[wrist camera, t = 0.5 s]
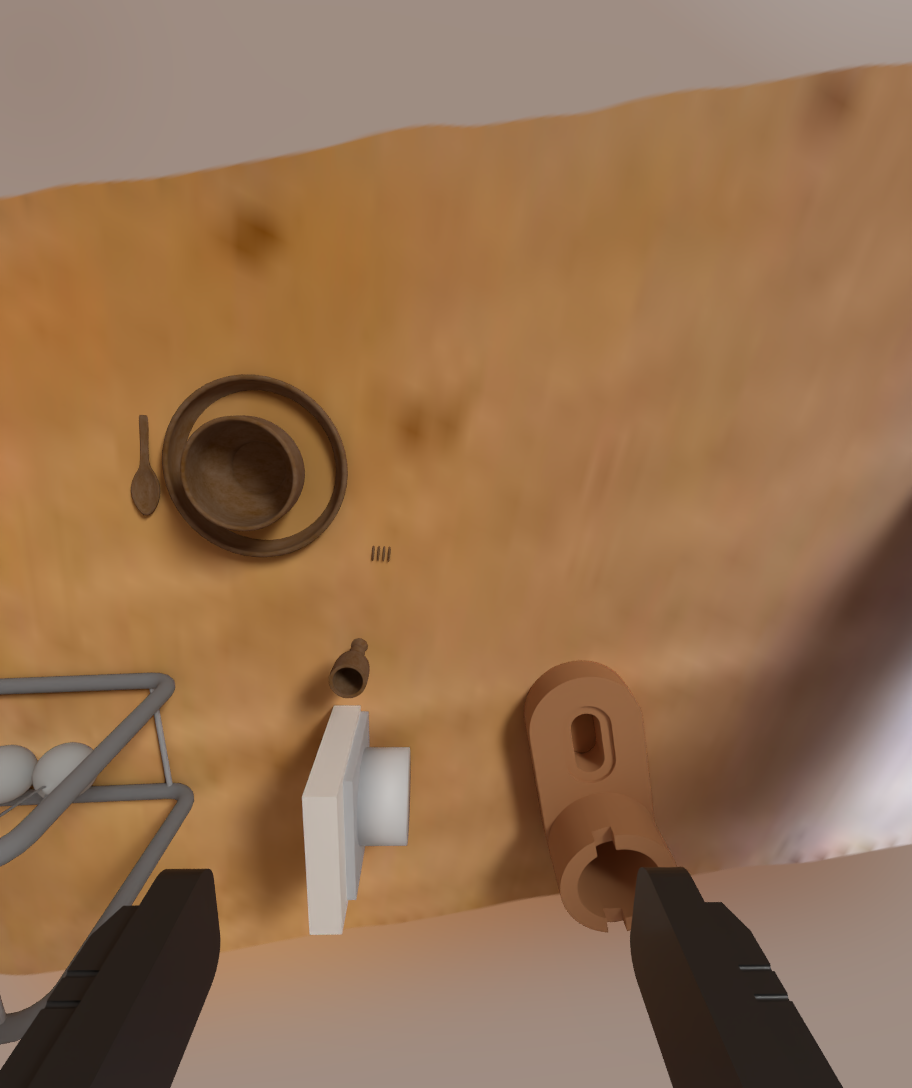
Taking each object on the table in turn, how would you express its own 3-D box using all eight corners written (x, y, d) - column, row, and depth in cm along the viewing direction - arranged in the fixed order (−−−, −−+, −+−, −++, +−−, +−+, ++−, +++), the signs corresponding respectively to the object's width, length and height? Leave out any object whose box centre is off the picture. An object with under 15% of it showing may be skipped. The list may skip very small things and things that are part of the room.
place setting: (399, 386, 36) (391, 383, 31) (386, 661, 41) (377, 702, 35) (129, 365, 36) (70, 357, 30) (148, 648, 40) (100, 688, 35)
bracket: (647, 845, 46) (683, 921, 39) (549, 862, 46) (568, 941, 39) (624, 650, 41) (660, 697, 34) (515, 670, 41) (531, 721, 35)
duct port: (410, 705, 41) (402, 796, 32) (410, 817, 44) (403, 933, 34) (334, 705, 41) (301, 796, 32) (338, 817, 44) (309, 934, 34)
